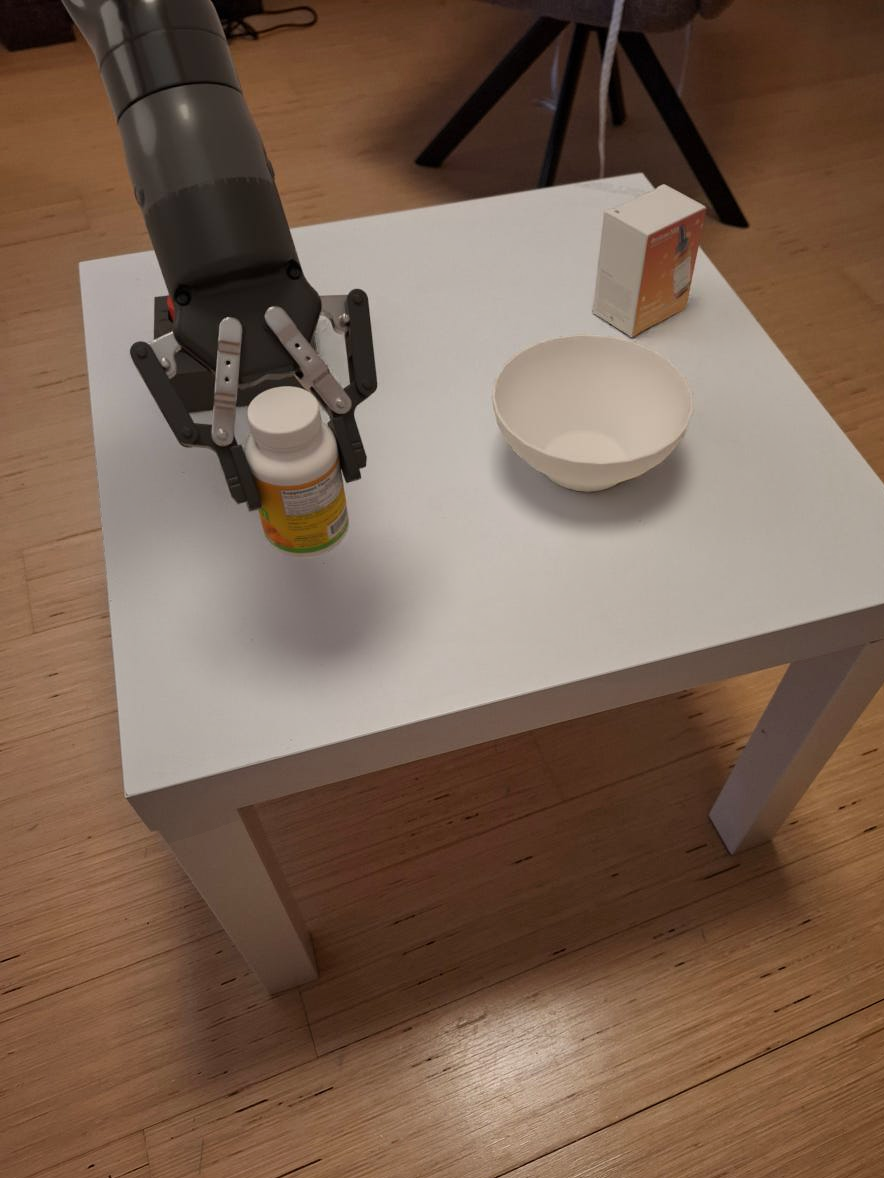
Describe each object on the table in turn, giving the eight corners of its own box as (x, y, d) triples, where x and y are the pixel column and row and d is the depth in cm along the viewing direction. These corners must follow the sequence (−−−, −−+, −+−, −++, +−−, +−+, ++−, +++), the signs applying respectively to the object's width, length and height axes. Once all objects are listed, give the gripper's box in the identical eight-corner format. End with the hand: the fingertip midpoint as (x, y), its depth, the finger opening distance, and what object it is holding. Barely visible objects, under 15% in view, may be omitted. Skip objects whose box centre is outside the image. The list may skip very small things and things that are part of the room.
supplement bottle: (258, 508, 61) (226, 387, 53) (339, 491, 62) (320, 369, 54) (272, 569, 58) (241, 449, 50) (358, 549, 59) (340, 429, 51)
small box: (631, 339, 90) (646, 236, 82) (590, 313, 93) (601, 210, 84) (688, 308, 93) (709, 205, 85) (647, 283, 96) (664, 181, 87)
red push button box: (165, 415, 84) (146, 358, 79) (166, 335, 91) (148, 279, 86) (323, 395, 85) (313, 339, 80) (311, 318, 92) (302, 262, 87)
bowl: (597, 560, 73) (606, 495, 68) (452, 463, 80) (449, 396, 74) (716, 459, 80) (734, 392, 74) (574, 377, 87) (580, 310, 81)
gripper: (325, 196, 57) (406, 467, 61) (86, 247, 54) (185, 531, 57) (342, 147, 50) (433, 457, 53) (68, 203, 47) (182, 530, 50)
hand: (304, 494), depth 55 cm, fingers closed on supplement bottle, 5 cm apart
